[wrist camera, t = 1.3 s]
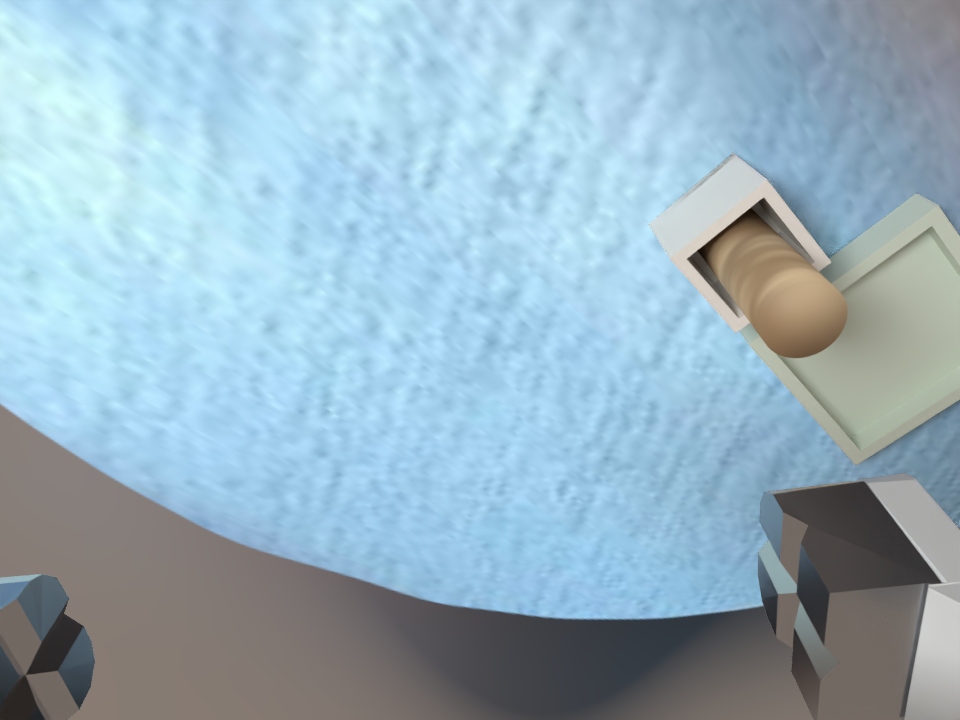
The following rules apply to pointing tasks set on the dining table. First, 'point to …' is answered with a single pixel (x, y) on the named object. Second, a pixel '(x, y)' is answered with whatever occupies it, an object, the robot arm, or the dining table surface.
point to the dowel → (776, 287)
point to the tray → (884, 333)
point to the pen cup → (711, 213)
